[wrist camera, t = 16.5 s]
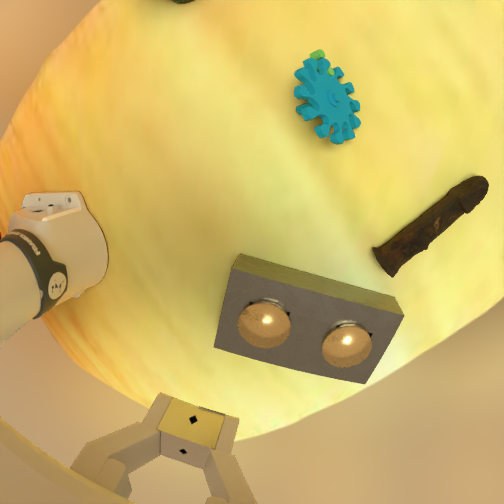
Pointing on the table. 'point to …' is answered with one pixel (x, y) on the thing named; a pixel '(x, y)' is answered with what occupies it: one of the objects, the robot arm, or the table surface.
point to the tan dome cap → (346, 345)
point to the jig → (300, 318)
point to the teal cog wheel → (326, 98)
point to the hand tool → (431, 224)
